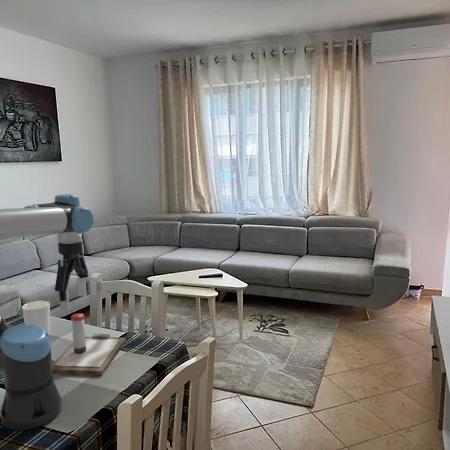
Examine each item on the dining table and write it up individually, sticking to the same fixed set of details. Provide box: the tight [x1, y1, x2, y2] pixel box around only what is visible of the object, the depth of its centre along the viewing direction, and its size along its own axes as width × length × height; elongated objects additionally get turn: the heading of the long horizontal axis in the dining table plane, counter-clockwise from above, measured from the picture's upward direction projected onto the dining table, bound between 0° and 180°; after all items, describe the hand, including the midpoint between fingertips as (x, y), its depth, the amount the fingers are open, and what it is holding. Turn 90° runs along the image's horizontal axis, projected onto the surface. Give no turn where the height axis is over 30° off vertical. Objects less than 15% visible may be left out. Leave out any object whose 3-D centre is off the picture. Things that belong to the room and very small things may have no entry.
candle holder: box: [21, 300, 51, 335], centre depth 162 cm, size 10×10×12 cm
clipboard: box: [52, 333, 127, 376], centre depth 145 cm, size 18×24×3 cm
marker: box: [70, 313, 86, 354], centre depth 144 cm, size 4×4×13 cm
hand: (74, 302), depth 142 cm, fingers open, 13 cm apart
